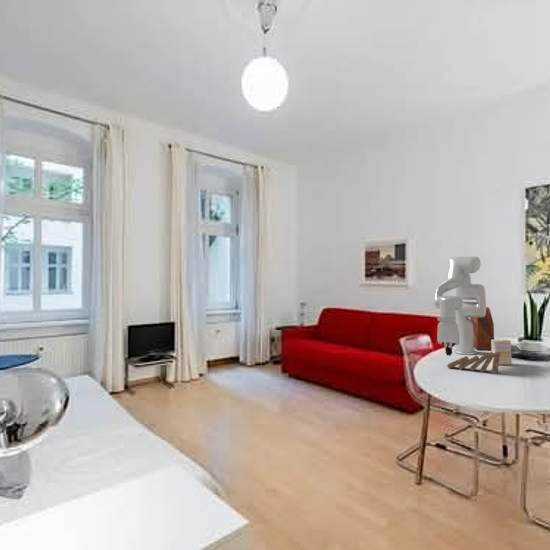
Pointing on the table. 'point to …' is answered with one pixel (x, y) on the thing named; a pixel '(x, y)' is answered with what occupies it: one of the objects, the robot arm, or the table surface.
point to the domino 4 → (487, 362)
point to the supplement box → (502, 351)
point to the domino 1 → (458, 362)
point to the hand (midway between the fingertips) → (448, 355)
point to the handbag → (483, 331)
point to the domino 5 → (495, 362)
